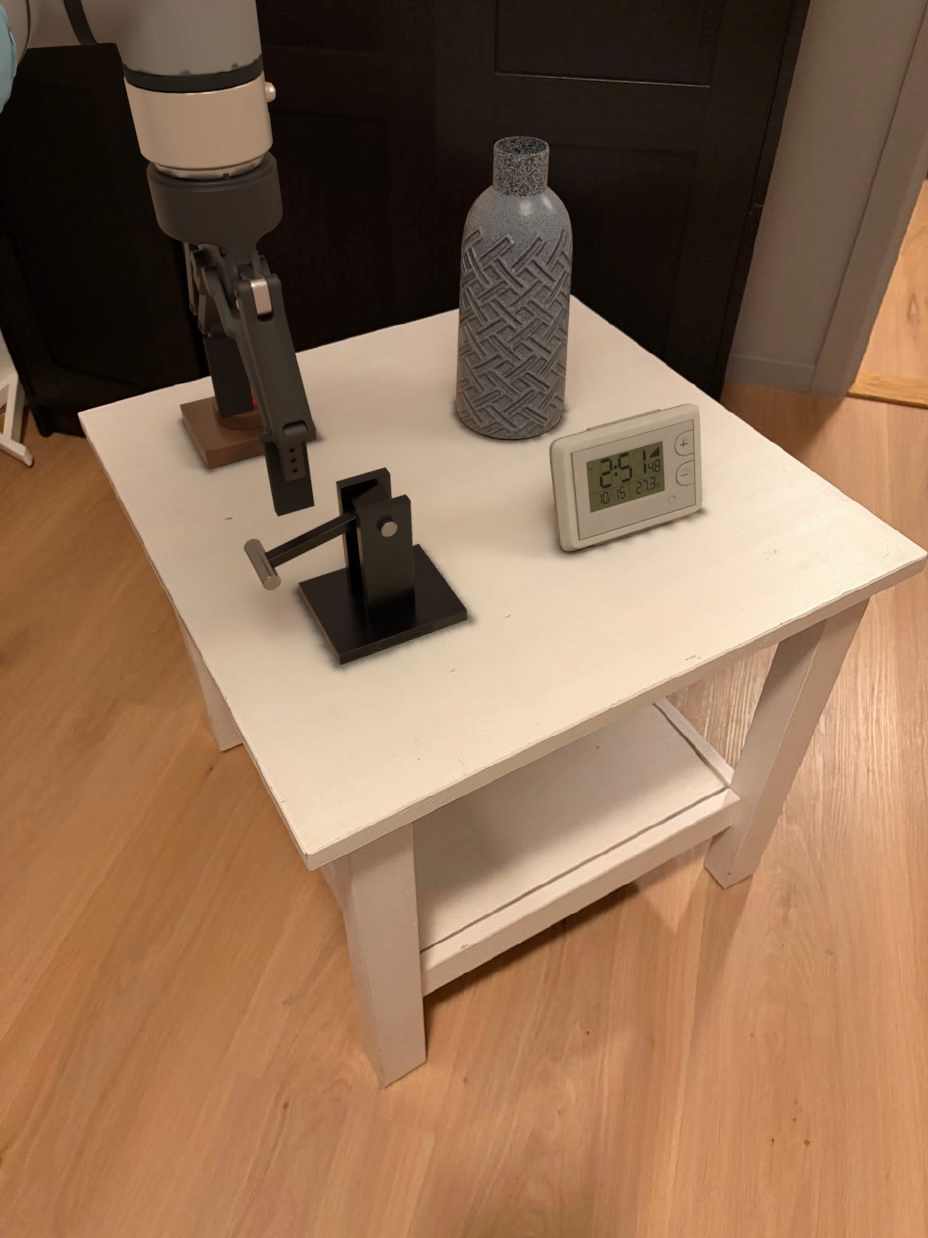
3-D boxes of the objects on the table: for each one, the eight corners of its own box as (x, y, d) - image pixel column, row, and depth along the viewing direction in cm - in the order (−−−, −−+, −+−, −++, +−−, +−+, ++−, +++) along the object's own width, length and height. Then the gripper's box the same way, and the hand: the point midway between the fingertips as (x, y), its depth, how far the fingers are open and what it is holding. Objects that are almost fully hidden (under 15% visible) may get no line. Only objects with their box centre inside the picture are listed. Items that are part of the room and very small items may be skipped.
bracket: (340, 665, 78) (324, 549, 68) (299, 592, 84) (280, 477, 75) (467, 619, 81) (468, 504, 72) (419, 552, 88) (414, 439, 79)
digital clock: (555, 560, 87) (565, 467, 79) (529, 502, 93) (535, 411, 86) (715, 535, 90) (739, 443, 82) (679, 480, 96) (698, 390, 88)
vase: (581, 428, 103) (611, 159, 82) (480, 451, 99) (485, 177, 79) (535, 374, 110) (552, 117, 90) (440, 394, 107) (436, 132, 87)
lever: (269, 597, 72) (258, 577, 71) (249, 559, 76) (238, 539, 74) (405, 528, 74) (398, 507, 73) (381, 494, 78) (373, 473, 76)
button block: (208, 469, 97) (201, 437, 94) (183, 421, 103) (175, 389, 100) (316, 439, 101) (312, 407, 98) (286, 395, 107) (281, 364, 104)
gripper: (350, 222, 47) (375, 539, 62) (213, 87, 63) (260, 367, 78) (206, 249, 45) (269, 573, 60) (100, 103, 61) (171, 388, 76)
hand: (264, 457), depth 69 cm, fingers open, 13 cm apart
